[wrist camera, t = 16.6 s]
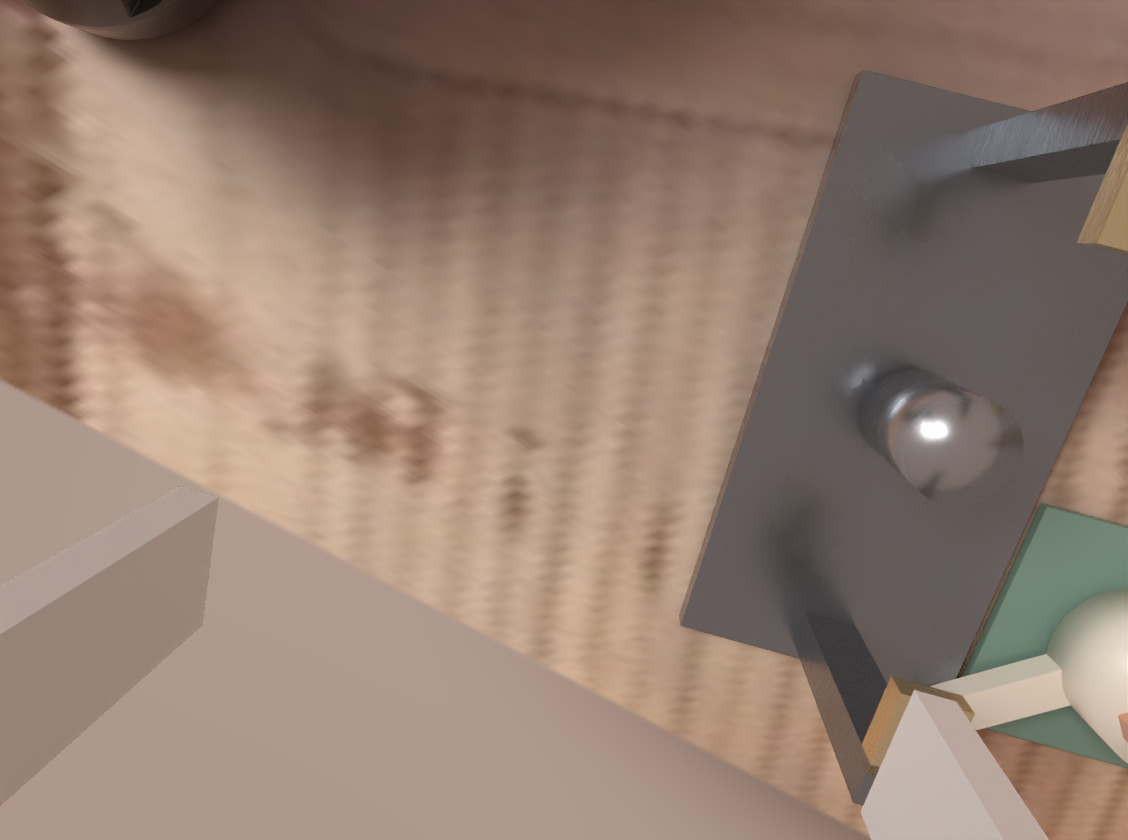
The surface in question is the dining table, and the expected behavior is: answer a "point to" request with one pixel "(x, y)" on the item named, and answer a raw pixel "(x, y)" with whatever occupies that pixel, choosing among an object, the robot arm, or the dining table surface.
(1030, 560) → the mat
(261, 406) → the dining table surface
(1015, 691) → the cream crossbar with hub
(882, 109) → the grey frame
